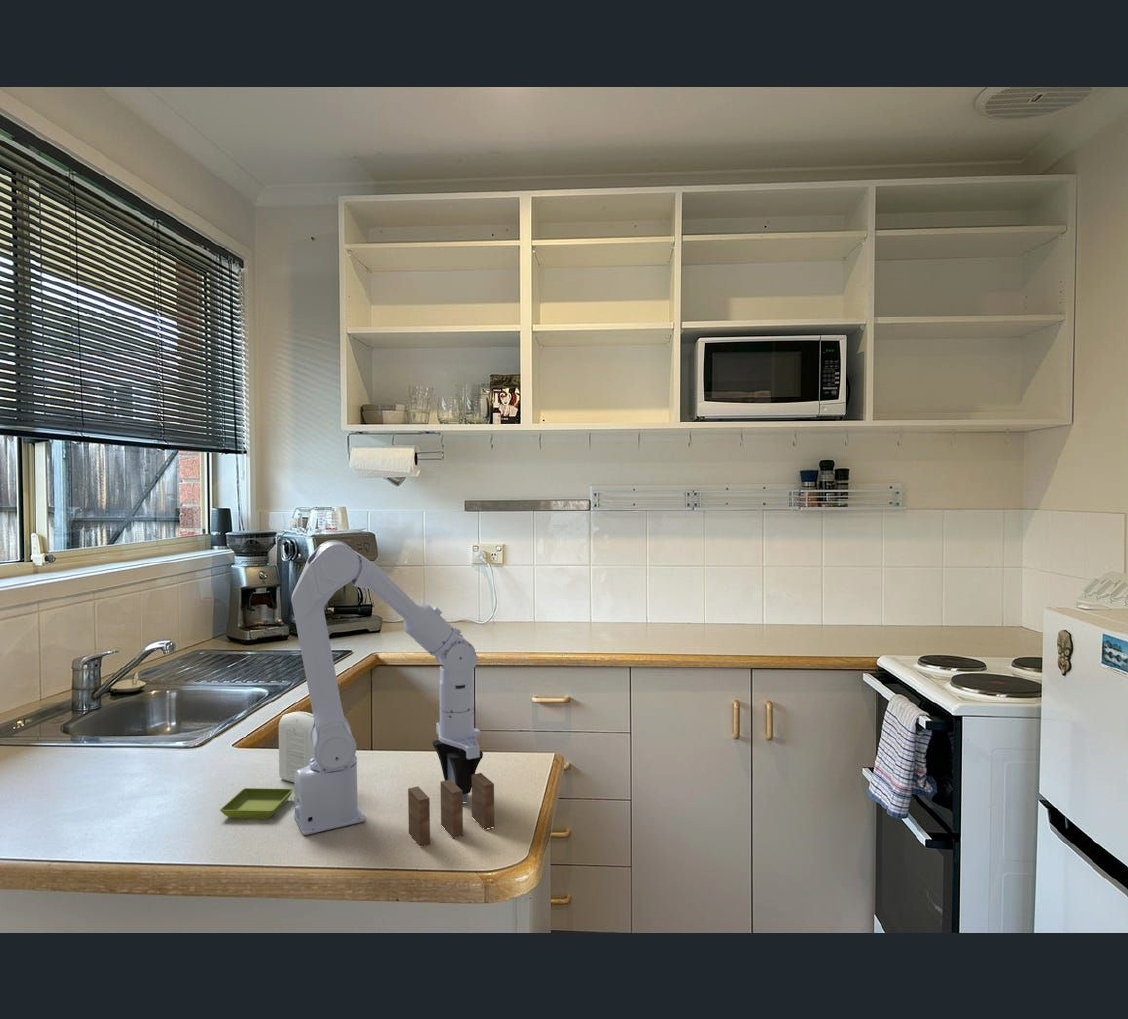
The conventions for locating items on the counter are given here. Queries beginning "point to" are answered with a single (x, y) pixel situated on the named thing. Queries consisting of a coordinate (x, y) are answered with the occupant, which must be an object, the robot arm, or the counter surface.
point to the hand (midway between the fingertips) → (457, 787)
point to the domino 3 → (483, 800)
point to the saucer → (256, 802)
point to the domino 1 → (419, 816)
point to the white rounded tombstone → (295, 743)
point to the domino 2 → (451, 808)
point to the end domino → (452, 778)
